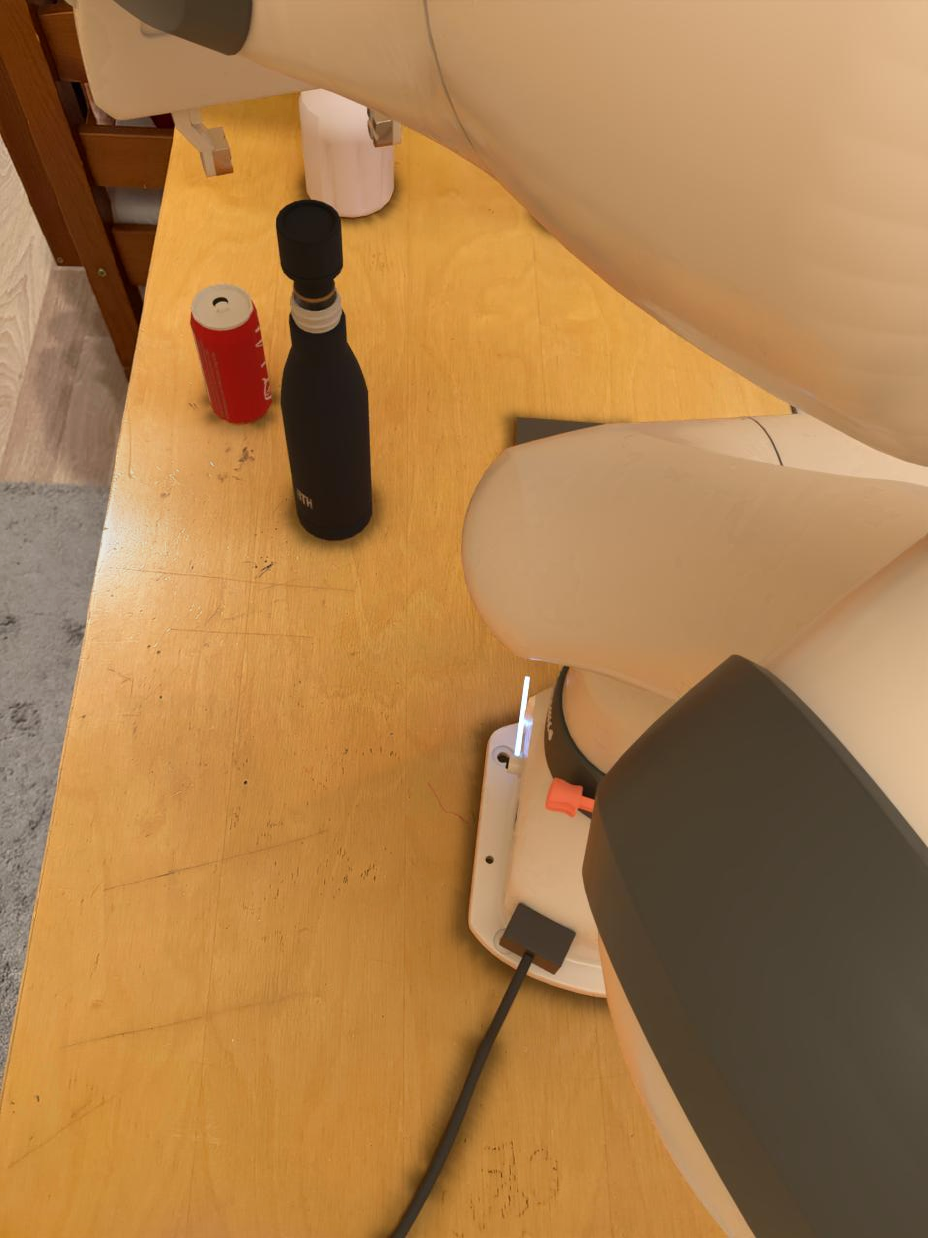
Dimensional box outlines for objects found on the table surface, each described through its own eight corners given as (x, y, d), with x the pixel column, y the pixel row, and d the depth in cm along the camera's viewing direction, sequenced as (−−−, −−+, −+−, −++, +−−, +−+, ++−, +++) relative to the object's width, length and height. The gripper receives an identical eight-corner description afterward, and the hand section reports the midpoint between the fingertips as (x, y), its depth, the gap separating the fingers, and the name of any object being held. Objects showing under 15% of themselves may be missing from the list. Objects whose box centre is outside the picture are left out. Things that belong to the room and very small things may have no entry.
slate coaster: (628, 521, 87) (630, 516, 86) (513, 513, 87) (514, 507, 86) (625, 430, 92) (626, 424, 91) (515, 422, 92) (516, 416, 91)
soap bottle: (297, 168, 106) (272, -87, 84) (381, 155, 108) (377, -98, 86) (317, 226, 102) (296, -26, 81) (404, 211, 104) (406, -38, 82)
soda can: (280, 417, 90) (264, 319, 80) (220, 433, 89) (196, 335, 79) (262, 372, 93) (245, 271, 82) (204, 387, 91) (178, 286, 81)
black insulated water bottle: (377, 483, 87) (370, 190, 61) (366, 545, 84) (354, 264, 58) (304, 475, 87) (264, 177, 61) (290, 536, 84) (243, 251, 58)
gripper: (38, -58, 40) (122, 226, 52) (518, -117, 44) (492, 159, 56) (16, -140, 43) (101, 148, 55) (471, -188, 47) (456, 90, 59)
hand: (302, 153), depth 56 cm, fingers open, 8 cm apart
